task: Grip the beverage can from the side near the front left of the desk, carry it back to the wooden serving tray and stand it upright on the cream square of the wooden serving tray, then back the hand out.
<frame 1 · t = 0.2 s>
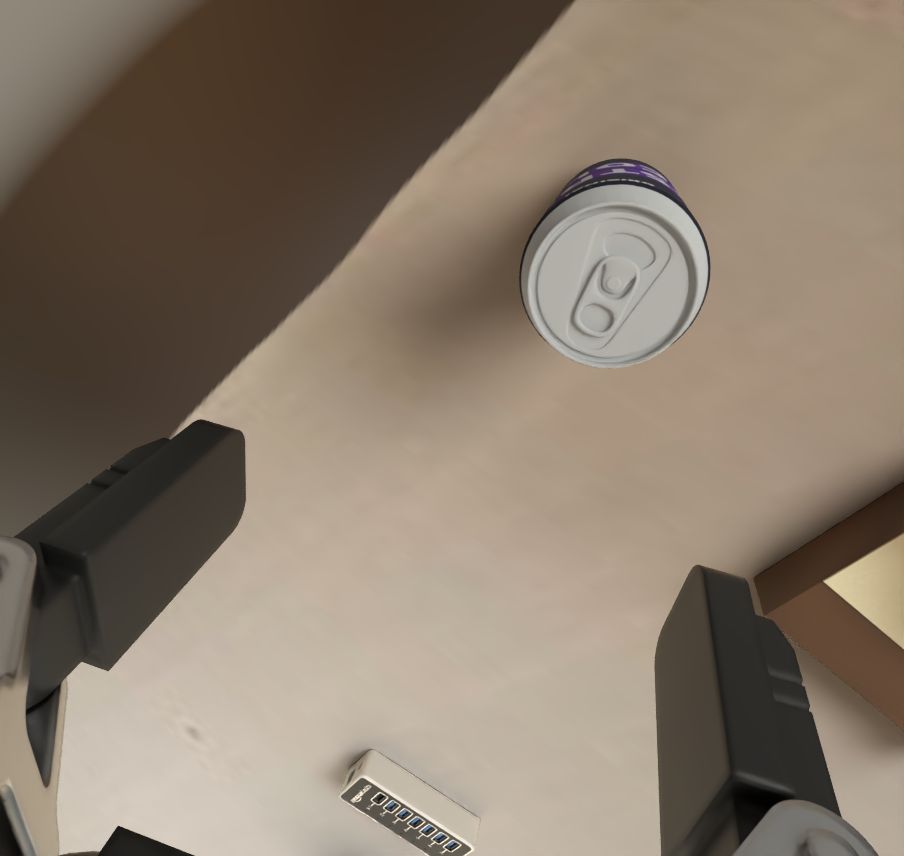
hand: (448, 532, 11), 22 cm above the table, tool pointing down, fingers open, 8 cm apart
multiport hub: (414, 793, 52), on the table
beverage can: (614, 224, 29), on the table
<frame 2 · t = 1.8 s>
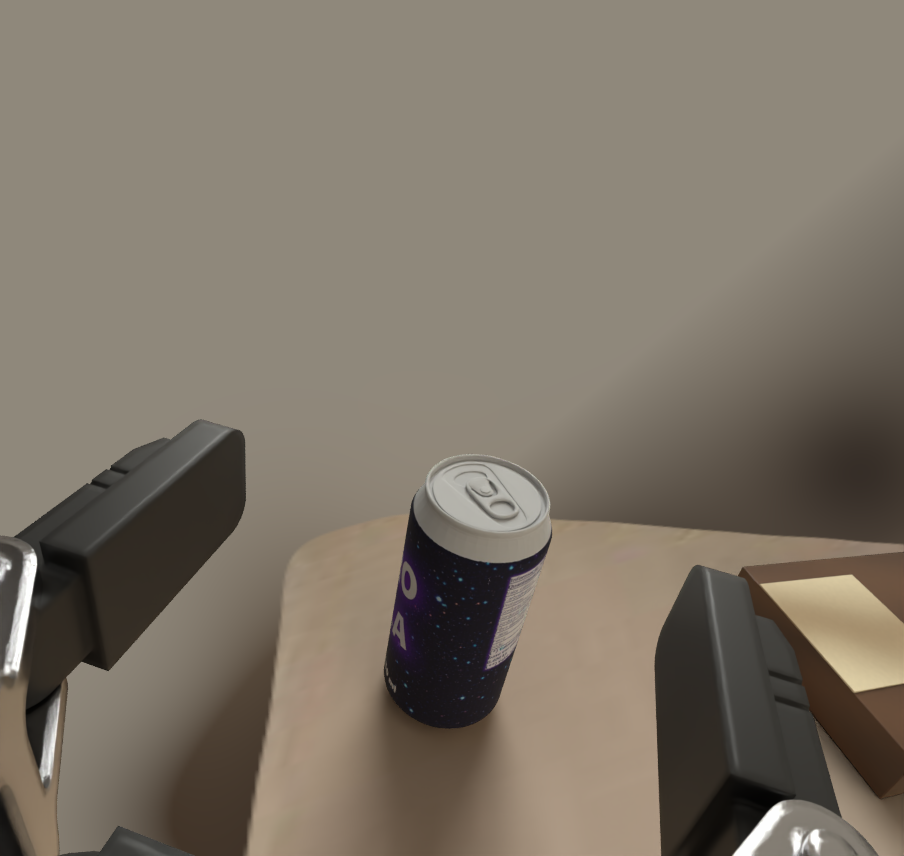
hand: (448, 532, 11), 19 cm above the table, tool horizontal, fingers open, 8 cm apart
beverage can: (439, 687, 30), on the table
wooden serving tray: (898, 668, 36), on the table
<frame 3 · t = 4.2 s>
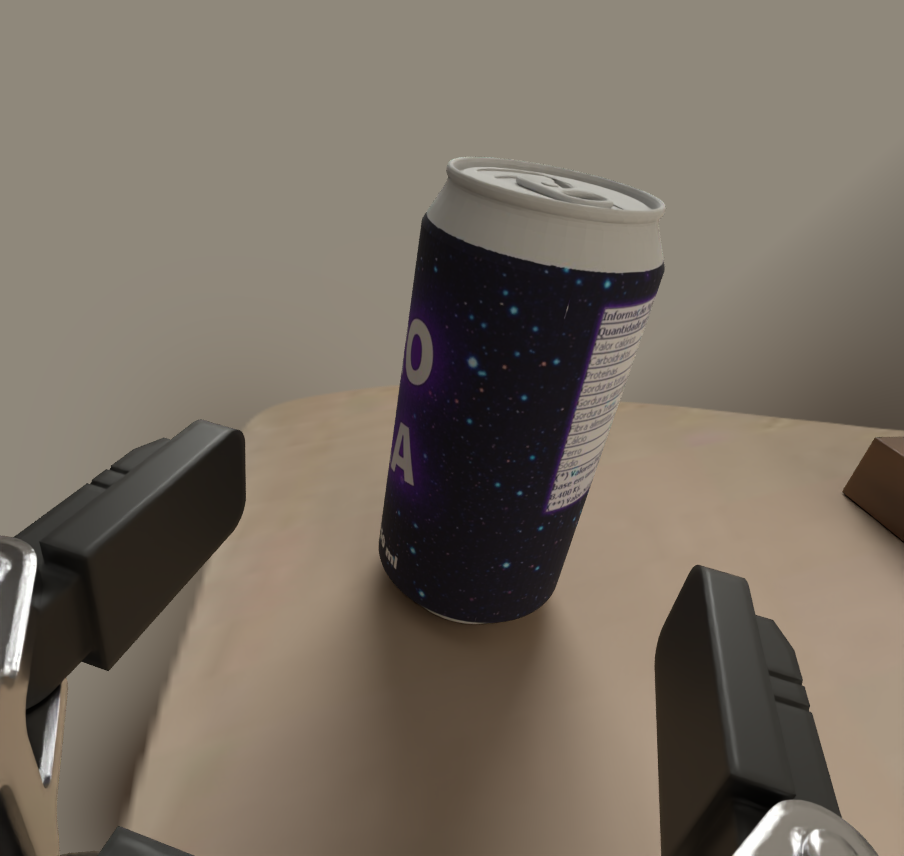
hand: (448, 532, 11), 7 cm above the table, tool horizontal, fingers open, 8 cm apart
beverage can: (463, 577, 20), on the table
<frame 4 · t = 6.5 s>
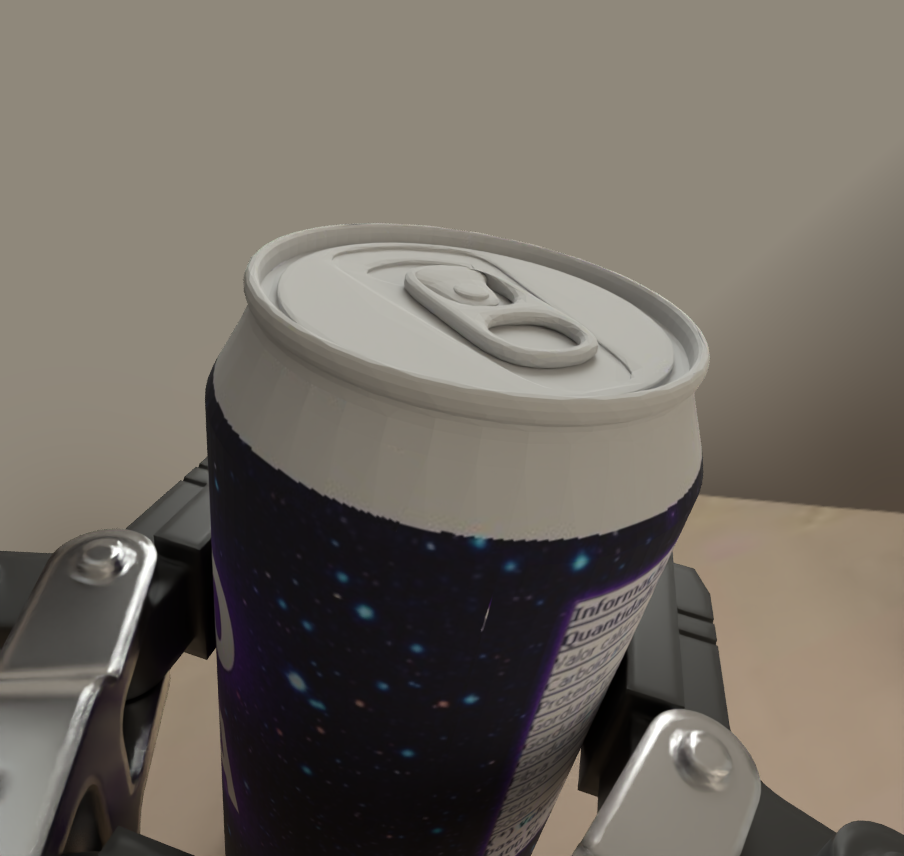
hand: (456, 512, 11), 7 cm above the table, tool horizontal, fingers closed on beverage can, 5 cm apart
beverage can: (371, 849, 13), on the table, touching gripper
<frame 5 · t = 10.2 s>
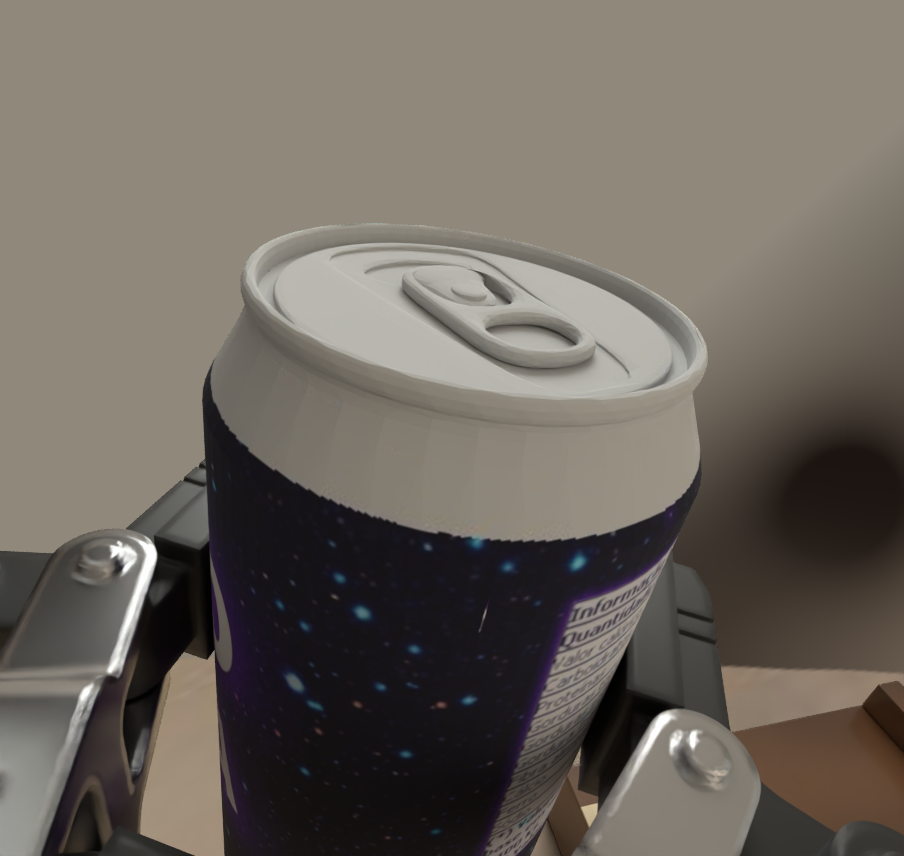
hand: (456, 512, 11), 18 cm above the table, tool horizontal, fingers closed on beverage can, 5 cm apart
beverage can: (371, 849, 13), point 11 cm above the table, touching gripper
when the fingers open (10 cm above the table, at t = 14.3 s): beverage can stays where it is, resting on wooden serving tray.
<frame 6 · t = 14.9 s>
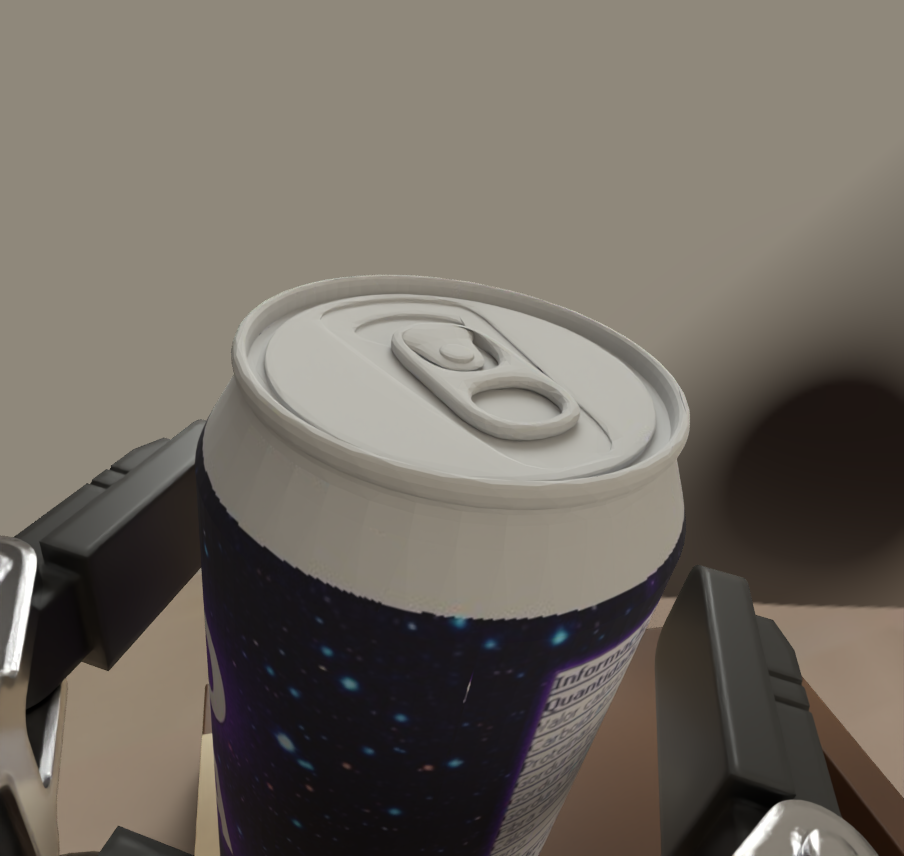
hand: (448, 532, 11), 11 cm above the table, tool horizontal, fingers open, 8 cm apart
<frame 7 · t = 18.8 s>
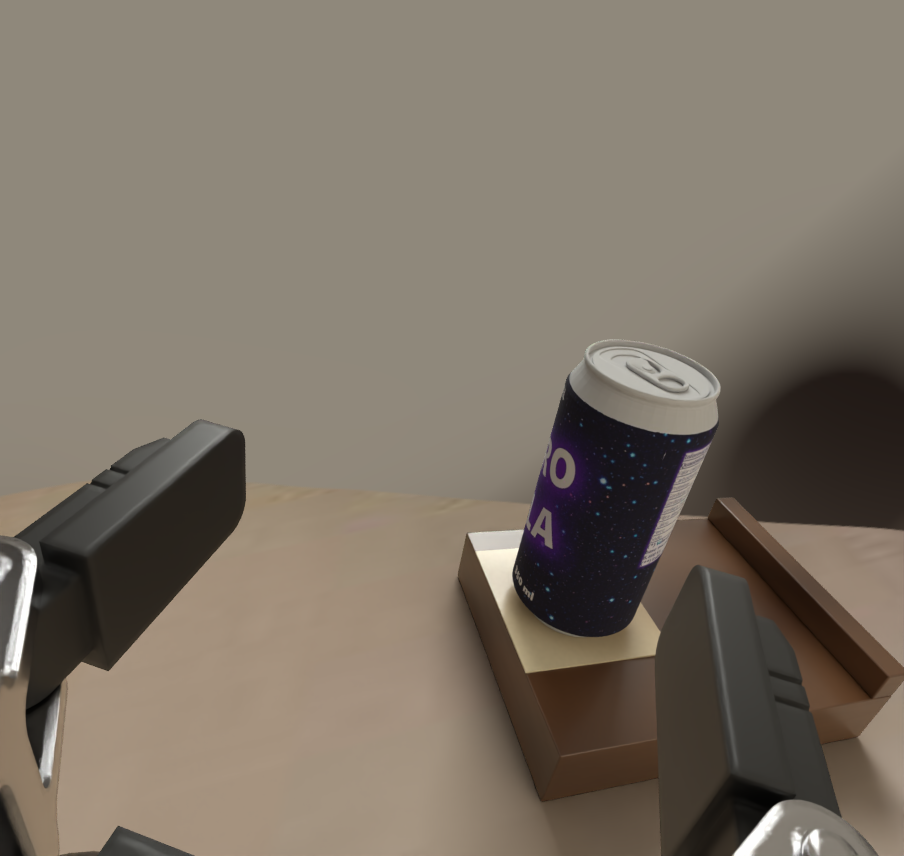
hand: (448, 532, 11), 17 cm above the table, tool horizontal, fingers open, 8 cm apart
beverage can: (567, 603, 29), point 3 cm above the table, touching wooden serving tray
wooden serving tray: (642, 649, 31), on the table
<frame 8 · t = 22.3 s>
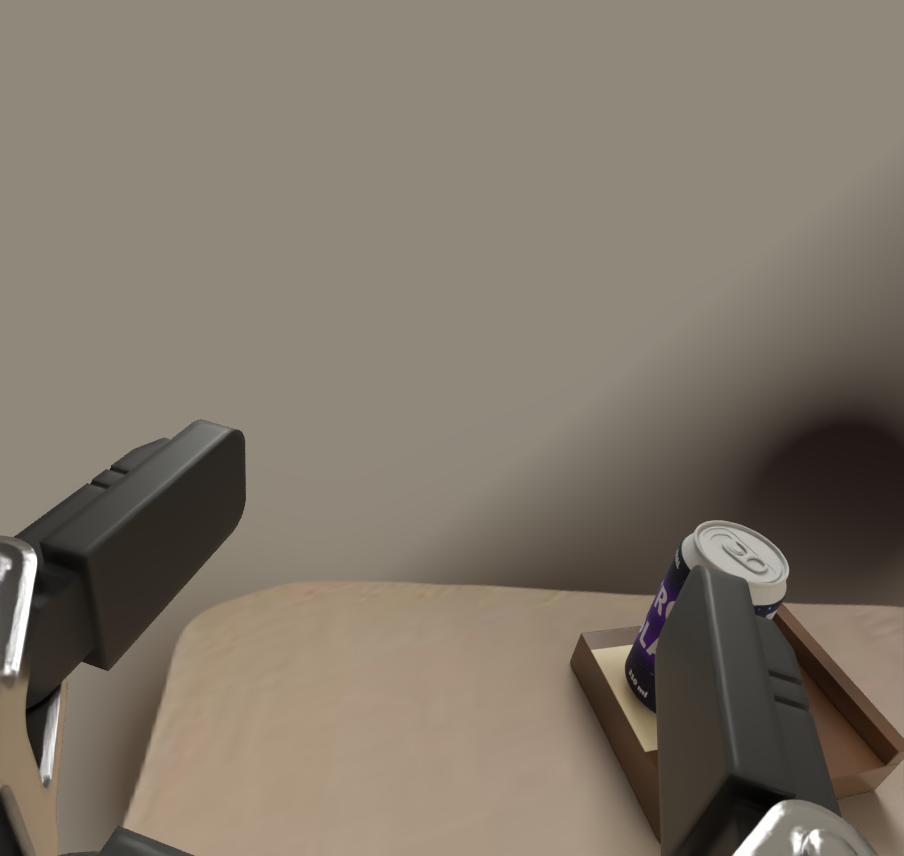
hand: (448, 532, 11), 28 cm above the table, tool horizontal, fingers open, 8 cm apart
beverage can: (663, 693, 39), point 3 cm above the table, touching wooden serving tray
wooden serving tray: (713, 722, 42), on the table
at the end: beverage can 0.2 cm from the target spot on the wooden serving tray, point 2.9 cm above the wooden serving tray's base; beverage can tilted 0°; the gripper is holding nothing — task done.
